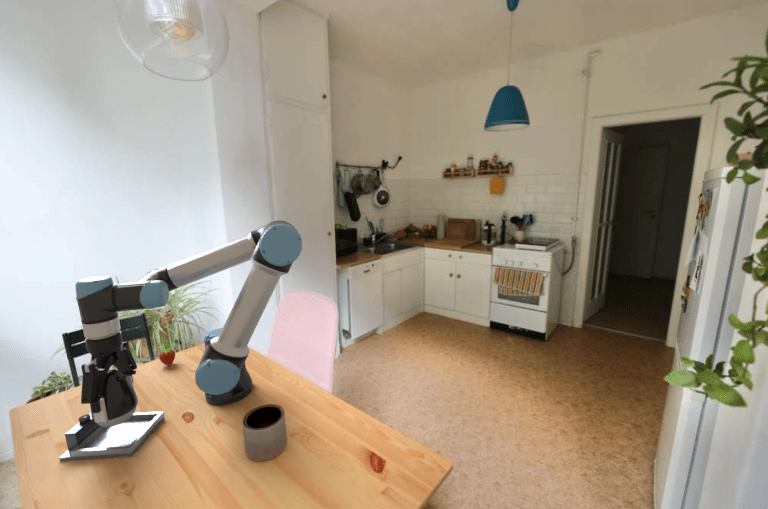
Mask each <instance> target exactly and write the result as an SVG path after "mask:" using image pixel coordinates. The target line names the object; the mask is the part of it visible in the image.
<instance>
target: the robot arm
mask: <svg viewBox="0 0 768 509" xmlns="http://www.w3.org/2000/svg"><path fill="white" fill-rule="evenodd" d="M302 249H303V239H302V236H301V234H300V232H299V231H298V229H296V227H295V226H294V225H293V224H291V223H289V221H285V220H274V221H271V222H269V223H267V224H265V225H264V226H261V227H259V228H257V229H255V230H252V231H250V232H249V234H248V235H247V236H245V237H241V238H240V239H237V240H234V241H232V242H229V243H226V244H224V245H221V246H218V247H215V248H212V249H210V250H207V251H204V252H202V253H199V254H196V255H193V256H190V257H188V258H185V259H183V260H179V261H177V262H175V263H171V264H169V265H166V266H164V267H161V268H156V269H152V270H150V271H148V272H147V273H146V274H145V275H144V276H142V277H141V278H139V279H138V280H137V281H134V282H133V281H132V282H123V283H119V282H118V283H115V282H114V280H113V278H112V277H111V276H109V275H105V276H104V275H99V276H98V275H97V276H91V277H86V278H82V279H80V280H78V281H77V282H76V283H75V296H76V298H75V299H76V302H77V306H78V311H79V315H80V321H81V326H82V330H83V336H84V338H85V339H84V343H85V348H86V352H87V353H89V354H90V355H91V359H90V361H89V362H88V363H84V364H81V372H82V381H81V383H82V384H81V394H80V395H81V398H80V404H81V405H85V404H87V405H90V413H91V412H92V413H93V415H94V420H95V422H106V421H107V420H108V418H107V413H106V407H105V402H104V398H101V395H102V391H103V386H104V382H105V377H106V374H107V373H108V372H109V370H110V368H111V367H112V366H114V368H115V369H116V370H119V371H120V372H122V373H123V374H124V375H126V376H127V378H128V380H129V381H130V383H131V384H132V386H133V388H134V387H135V386H134V378H133V375H136V374H137V371H136V370H137V368H138V365H137V363H136V361H135V358H134V355H133V354H132V352H131V350H130V346H129V342H128V341H123V336H122V331H121V329H122V328H121V324H120V323H121V322H120V317H119V313H118V312H126V311H127V312H128V311H138V310H140V311H141V310H153V309H157V308H163V307H165V306H166V305H167V304H168V302H169V297H170V292H172V291H174V290H177V289H179V288H182V287H184V286H186V285H190V284H191V283H194V282H197V281H200V280H202V279H204V278H208V277H209V276H213V275H215V274H218V273H220V272H222V271H223V272H224V271H226V270H228V269H230V268H233V267H237V266H239V265H241V264H244V263H247V262H249V261H252V267H251V269H250V271H249V273H248V275H247V277H246V279H245V281H244V283H243V286H242V288H241V290H240V292H239V294H238V295H237V297H236V300H235V302H234V304H233V306H232V308H231V310H230V312H229V314H228V317H227V319H226V320H225V323H224V325H223V327H220V328H215V329H212V330H210V331H208V332H206V333H205V334H204V336H203V343H204V351H203V354H202V356H201V358H200V361H199V363H198V366H197V368H196V370H195V375H194V376H195V377H194V379H195V380H194V381H195V385H196V386H197V387H198V389H199V390H200V391H202V392H204V396H205V401H206V403H208V404H210V405H213V406H224V405H225V406H226V405H231V404H234V403H237V402H240V401H241V400H243V399H244V398H246V397H247V396H248V395H250V393H252V391H253V388H254V385H253V379H252V376H251V375H250V373H249V371H248V369H247V366H246V361H247V358H248V357H249V354H250V348H249V342H250V340H251V339H252V337H253V335H254V333H255V330H256V328H257V326H258V324H259V323H260V320H261V318H262V316H263V313H264V311H265V309H266V307H267V305H268V303H269V302H270V299H271V297H272V295H273V293H274V291H275V289H276V287H277V285H278V282H279V281H280V278H281V277H282V276H285V275H287V274H289V272H290V269H291V268H292V265H293V264H294V262H295V261H296V260H297V259H298V258H299V257H300V255H301V253H302ZM134 389H135V388H134ZM95 395H96V396H95Z"/></svg>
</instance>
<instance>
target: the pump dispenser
mask: <svg viewBox="0 0 768 509" xmlns="http://www.w3.org/2000/svg"><path fill="white" fill-rule="evenodd" d="M133 386H134V385H133ZM133 386H132V384H131V383H130V381H129V380H128V378H127V376H126V375H124V374H123V373H122V372H120V371H119V370H118V369H109V372H108V373H107V374H106V377H105V382H104V386H103V391H102V395H101V398H104V402H105V407H106V413H107V418H108V420H107V421H106V422H96V423H97V424H98V425H100V426H103V427H112V426H116V425H119V424H121V423H123V422H125V421H127V420H128V419H129V418H130V417H131V416H132V415H133V414H134V413H136V410H137V406H138V403H139V400H138V395H137V393H136V390H135V388H133ZM95 396H96V395H95ZM90 413H91V417H92V419H93V420H94V415H93V413H92V412H91V411H90Z"/></svg>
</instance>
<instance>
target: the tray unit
mask: <svg viewBox="0 0 768 509" xmlns="http://www.w3.org/2000/svg"><path fill="white" fill-rule="evenodd" d="M164 420H165V413H164V411H163V410H162V411H160V410H159V411H146V412H144V411H143V412H134V414H133V415H132V416H131V417H130V418H129V419H128V420H127V421H125V422H123V423H121V424H119V425H116V426H112V427H103V426H100V425H98V424H97V423H96V422H95V420H93V419H92V417H91V412H89V413H87V414H83V415H81V416H79V418H78V422H77V423H76V424H75V425H73V427H71V428H70V429H69V430H67V431H66V432H65V433H64V437H65V442H66V446H67V450H66V451H65V452H64V453H63V454H62V455H60V456H59V461H60V462H65V461H79V460H80V461H81V460H98V459H112V458H113V459H116V458H130V457H133V456H134V455H135V453H137V451H138V450H139V449H140V448H141V447H142V445H144V443H145V442H146V441H147V440H148V439H149V438H150V436H151V435H152V434H153V433H154V431H156V429H158V428H159V426H160V425H161V423H163V421H164Z"/></svg>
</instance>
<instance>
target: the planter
mask: <svg viewBox="0 0 768 509" xmlns="http://www.w3.org/2000/svg"><path fill="white" fill-rule="evenodd" d="M241 424H242V431H243V432H242V433H243V443H244V452H245V456H246V457H247V458H248V459H249V460H251V461H255V462H265V461H268V460H271V459H273V458H276V457H277V456H278V455H280V454H281V453H282V452H283V451H284V450H285V448H286V446H287V443H288V437H287V425H286V414H285V409H284V408H283V406H281V405H280V404H275V403H266V404H261V405H258V406H256V407H254V408H252V409H250V410H249V411H247V413H246V414H245V415H244V416H243V419H242V423H241Z"/></svg>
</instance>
